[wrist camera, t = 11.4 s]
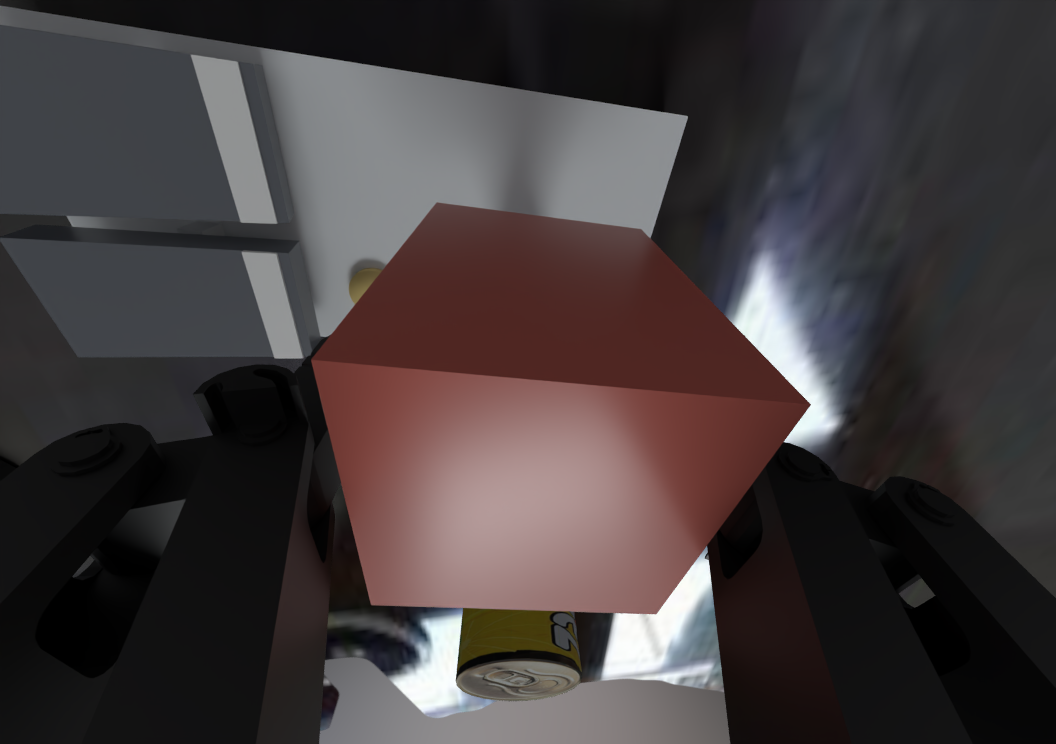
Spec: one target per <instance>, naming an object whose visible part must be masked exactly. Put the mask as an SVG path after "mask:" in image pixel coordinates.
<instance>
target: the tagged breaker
mask: <svg viewBox="0 0 1056 744" xmlns="http://www.w3.org/2000/svg"><path fill="white" fill-rule="evenodd" d="M0 242H1V243H2V245H3V246H4V247H5V249H6V250H7V252H8V253H9V255H10V256H11V258H12V259H13V261H14V262H15V264H16V265H17V267H18V268H19V270H20V271H21V273H22V274H23V276H24V277H25V279H26V280H27V282H28V283H29V285H30V286H31V288H32V289H33V291H34V292H35V294H36V295H37V297H38V298H39V300H40V301H41V303H42V304H43V306H44V307H45V309H46V310H47V312H48V313H49V315H50V316H51V318H52V319H53V321H54V322H55V323H56V325H57V326H58V328H59V329H60V331H61V332H62V334H63V335H64V337H65V338H66V340H67V341H68V343H69V344H70V346H71V347H72V349H73V350H74V352H75V353H76V355H77V356H78V357H274V358H304V356H310V355H311V352H312V351H313V349H314V348H315V347H316V346H317V345H318V343H319V342H320V340H321V336H320V332H319V327H318V323H317V318H316V314H315V309H314V304H313V300H312V295H311V291H310V286H309V282H308V277H307V272H306V268H305V263H304V259H303V254H302V250H301V245H300V241H297V240H281V239H265V238H248V237H232V236H215V235H199V234H183V233H166V232H150V231H133V230H117V229H101V228H84V227H68V226H51V225H33V226H30V227H27V228H24V229H21V230H19V231H16V232H13V233H10V234H7V235H4V236H1V237H0Z"/></svg>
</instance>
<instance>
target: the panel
mask: <svg viewBox="0 0 1056 744" xmlns="http://www.w3.org/2000/svg"><path fill="white" fill-rule="evenodd" d="M0 25H6V26H12V27H19V28H25V29H32V30H38V31H45V32H51V33H58V34H64V35H71V36H77V37H83V38H90V39H96V40H103V41H109V42H116V43H122V44H129V45H135V46H142V47H148V48H155V49H161V50H168V51H174V52H180V53H187V54H193V55H200V56H206V57H213V58H219V59H226V60H232V61H239V62H245V63H252V64H258V65H262V66H263V70H264V75H265V79H266V84H267V89H268V93H269V98H270V103H271V107H272V112H273V116H274V121H275V126H276V130H277V135H278V139H279V144H280V149H281V153H282V158H283V162H284V167H285V172H286V176H287V181H288V185H289V190H290V195H291V199H292V204H293V208H294V214H293V216H292V219H291V221H290V223H277V224H268V223H241V221H211V220H181V219H151V218H120V217H90V216H67V218H68V219H69V221H70V223H71V225H72V227H84V228H101V229H117V230H133V231H150V232H166V233H183V234H199V235H215V236H232V237H248V238H265V239H281V240H297V241H300V245H301V250H302V254H303V259H304V263H305V268H306V272H307V277H308V282H309V286H310V291H311V295H312V300H313V304H314V309H315V314H316V318H317V323H318V327H319V332H320V336H324V337H328V336H329V335H331V334H332V333H333V332H334V330H335V329H336V328H337V327H338V325H339V324H340V323H341V322H342V320H343V319H344V318H345V317H346V315H347V314H348V313H349V312H350V310H351V309H352V308H353V307H354V305H355V304H356V303H357V302H358V300H359V299H360V298H361V297H362V295H363V294H364V293H365V291H366V290H367V289H368V288H369V286H370V285H371V284H372V283H373V281H374V280H375V279H376V278H377V276H378V275H379V274H380V273H381V271H382V270H383V269H384V268H385V266H386V265H387V264H388V263H389V261H390V260H391V259H392V258H393V256H394V255H395V254H396V253H397V251H398V250H399V249H400V248H401V246H402V245H403V244H404V243H405V241H406V240H407V239H408V238H409V236H410V235H411V234H412V233H413V231H414V230H415V229H416V228H417V226H418V225H419V224H420V223H421V221H422V220H423V219H424V218H425V216H426V215H427V214H428V213H429V211H430V210H431V209H432V207H433V206H434V205H435V204H436V202H438V203H446V204H453V205H461V206H469V207H476V208H484V209H492V210H499V211H507V212H515V213H522V214H530V215H537V216H545V217H553V218H560V219H568V220H576V221H583V222H591V223H599V224H606V225H614V226H622V227H629V228H637V229H642V230H643V232H644V233H645V234H646V235H647V236H648V237H649V238H651V235H652V231H653V228H654V225H655V222H656V218H657V215H658V212H659V209H660V206H661V202H662V199H663V196H664V193H665V189H666V186H667V183H668V180H669V176H670V173H671V170H672V167H673V164H674V160H675V157H676V154H677V151H678V147H679V144H680V141H681V138H682V134H683V131H684V128H685V125H686V122H687V118H688V116H683V115H677V114H671V113H664V112H658V111H652V110H646V109H640V108H633V107H627V106H621V105H615V104H608V103H602V102H596V101H590V100H584V99H577V98H571V97H565V96H559V95H552V94H546V93H540V92H534V91H528V90H521V89H515V88H509V87H503V86H496V85H490V84H484V83H478V82H471V81H465V80H459V79H453V78H447V77H440V76H434V75H428V74H422V73H415V72H409V71H403V70H397V69H391V68H384V67H378V66H372V65H366V64H359V63H353V62H347V61H341V60H335V59H328V58H322V57H316V56H310V55H303V54H297V53H291V52H285V51H279V50H272V49H266V48H260V47H254V46H247V45H241V44H235V43H229V42H223V41H216V40H210V39H204V38H198V37H191V36H185V35H179V34H173V33H166V32H160V31H154V30H148V29H142V28H135V27H129V26H123V25H117V24H110V23H104V22H98V21H92V20H86V19H79V18H73V17H67V16H61V15H54V14H48V13H42V12H36V11H30V10H23V9H17V8H11V7H5V6H0Z"/></svg>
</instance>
